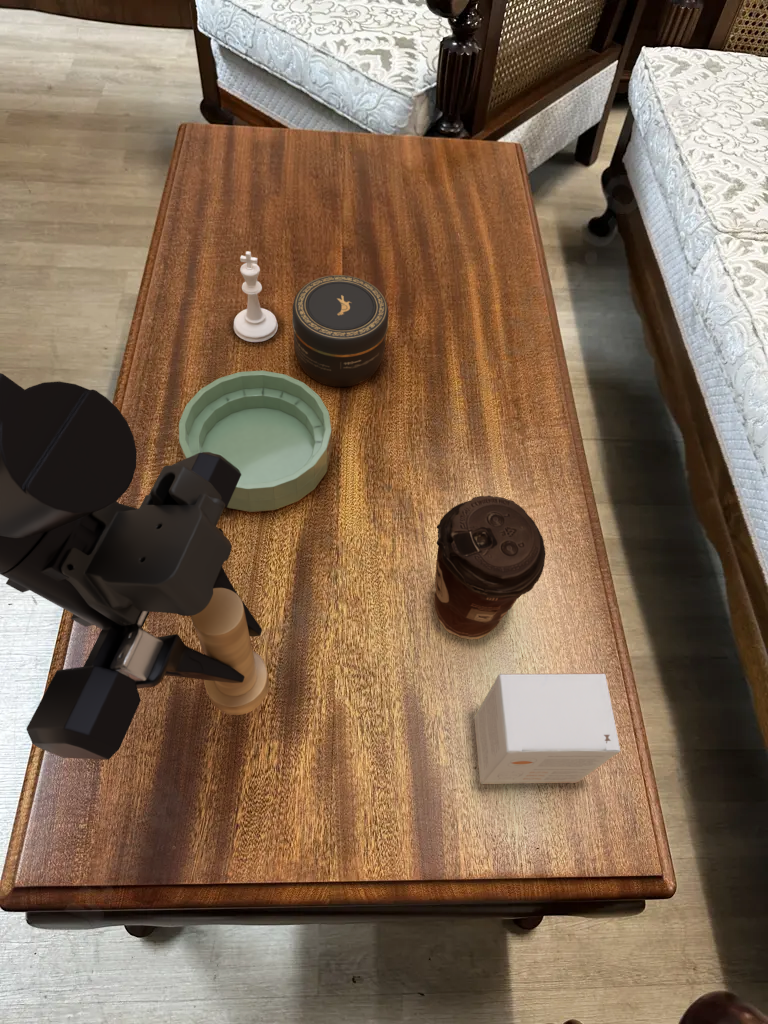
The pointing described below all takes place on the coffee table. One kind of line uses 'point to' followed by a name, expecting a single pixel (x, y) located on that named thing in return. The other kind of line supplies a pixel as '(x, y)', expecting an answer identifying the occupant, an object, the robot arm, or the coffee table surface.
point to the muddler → (231, 653)
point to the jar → (339, 329)
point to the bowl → (261, 436)
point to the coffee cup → (484, 564)
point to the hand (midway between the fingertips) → (248, 656)
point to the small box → (545, 728)
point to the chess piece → (253, 306)
